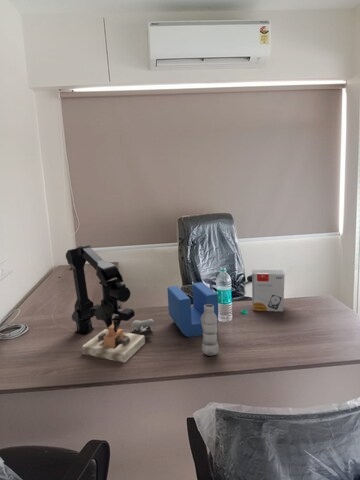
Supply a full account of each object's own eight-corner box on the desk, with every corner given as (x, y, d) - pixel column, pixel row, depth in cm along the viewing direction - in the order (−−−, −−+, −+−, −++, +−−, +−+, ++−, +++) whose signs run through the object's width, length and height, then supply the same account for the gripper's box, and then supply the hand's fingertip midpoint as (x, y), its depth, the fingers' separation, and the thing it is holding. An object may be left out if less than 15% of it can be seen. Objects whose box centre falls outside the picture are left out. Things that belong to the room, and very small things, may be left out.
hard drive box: (252, 311, 171) (252, 273, 167) (251, 305, 179) (251, 269, 175) (284, 311, 169) (284, 274, 165) (282, 306, 176) (282, 269, 172)
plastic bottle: (214, 359, 129) (213, 310, 125) (198, 355, 132) (197, 307, 128) (221, 351, 134) (220, 304, 130) (206, 347, 137) (205, 301, 134)
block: (203, 316, 168) (202, 281, 164) (218, 331, 151) (217, 293, 148) (169, 322, 163) (167, 287, 159) (181, 339, 146) (179, 300, 142)
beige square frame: (83, 353, 137) (81, 341, 136) (106, 336, 151) (105, 325, 150) (124, 362, 129) (123, 350, 128) (145, 343, 144) (144, 331, 142)
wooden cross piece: (104, 347, 137) (102, 329, 135) (115, 338, 144) (114, 321, 143) (112, 348, 135) (111, 331, 134) (123, 339, 143) (122, 322, 141)
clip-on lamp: (114, 346, 148) (153, 338, 146) (109, 334, 147) (148, 325, 144) (120, 331, 159) (156, 323, 157) (116, 320, 158) (152, 312, 155)
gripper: (78, 300, 132) (82, 337, 135) (118, 306, 125) (121, 344, 128) (95, 291, 142) (99, 325, 145) (133, 295, 135) (136, 331, 138)
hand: (113, 331), depth 139 cm, fingers closed on wooden cross piece, 2 cm apart
